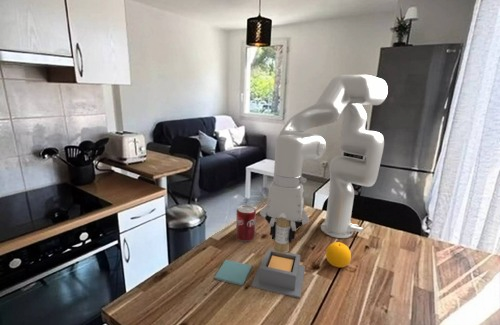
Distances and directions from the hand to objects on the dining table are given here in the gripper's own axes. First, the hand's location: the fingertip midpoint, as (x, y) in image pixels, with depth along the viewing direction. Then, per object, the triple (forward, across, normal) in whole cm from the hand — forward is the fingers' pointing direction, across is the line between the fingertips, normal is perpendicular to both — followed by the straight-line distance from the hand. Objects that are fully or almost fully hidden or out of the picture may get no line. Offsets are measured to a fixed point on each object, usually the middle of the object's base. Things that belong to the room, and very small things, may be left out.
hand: (282, 238), depth 78 cm
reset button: (+11, 0, 0) cm, 11 cm away
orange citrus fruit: (+13, -17, -13) cm, 26 cm away
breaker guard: (+13, 0, 0) cm, 13 cm away
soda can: (+14, +17, -18) cm, 28 cm away
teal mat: (+14, +14, +3) cm, 20 cm away
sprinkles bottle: (+4, 0, 0) cm, 4 cm away
